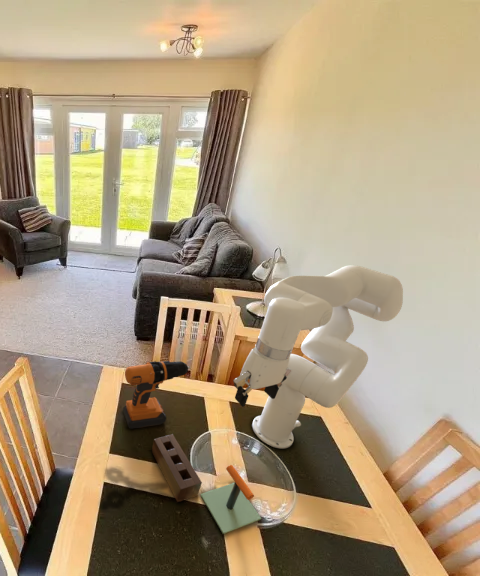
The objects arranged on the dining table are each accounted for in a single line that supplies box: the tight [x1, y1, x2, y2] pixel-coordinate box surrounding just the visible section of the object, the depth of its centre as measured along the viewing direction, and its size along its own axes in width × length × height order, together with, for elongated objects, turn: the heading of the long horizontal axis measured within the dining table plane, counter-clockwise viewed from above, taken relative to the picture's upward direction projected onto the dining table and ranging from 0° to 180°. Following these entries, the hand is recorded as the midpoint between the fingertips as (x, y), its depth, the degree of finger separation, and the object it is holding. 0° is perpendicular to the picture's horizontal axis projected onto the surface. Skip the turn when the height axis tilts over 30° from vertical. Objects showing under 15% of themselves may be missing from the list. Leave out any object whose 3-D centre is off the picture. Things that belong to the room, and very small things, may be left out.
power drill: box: [122, 360, 191, 429], centre depth 106 cm, size 22×7×25 cm, turn 101°
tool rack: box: [151, 433, 203, 503], centre depth 93 cm, size 7×16×6 cm, turn 18°
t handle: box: [226, 464, 255, 510], centre depth 83 cm, size 2×8×12 cm, turn 18°
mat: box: [200, 482, 262, 535], centre depth 86 cm, size 12×10×1 cm
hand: (254, 398), depth 84 cm, fingers open, 9 cm apart
